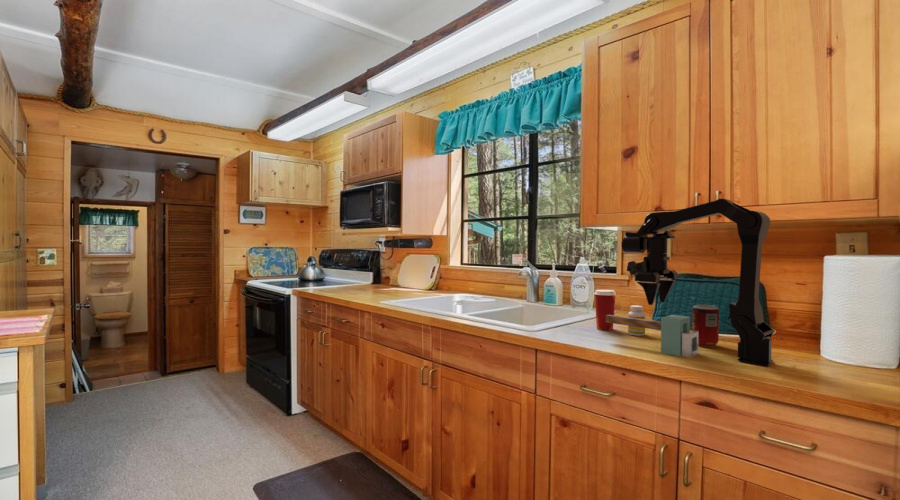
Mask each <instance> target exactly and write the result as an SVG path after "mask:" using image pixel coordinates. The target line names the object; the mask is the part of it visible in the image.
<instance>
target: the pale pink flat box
mask: <svg viewBox="0 0 900 500" xmlns="http://www.w3.org/2000/svg"><path fill="white" fill-rule="evenodd" d="M698 354H699V346H698V331H693V330H692V329H690V330H689V331H686V332H683V333H682V356H681V357H683V358H693V357H695V356H697V355H698Z"/></svg>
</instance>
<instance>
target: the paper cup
mask: <svg viewBox="0 0 900 500" xmlns="http://www.w3.org/2000/svg"><path fill="white" fill-rule="evenodd" d="M593 294H594V301H595V320H596V324H595V325H596V329H597V330H600V331H613V329H614V323H607V322H606V315H615V306H616V296H617V293H616V291H615V290H613V289H612V290H610V289H595V291H594V292H593Z"/></svg>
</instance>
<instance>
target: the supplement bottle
mask: <svg viewBox="0 0 900 500" xmlns="http://www.w3.org/2000/svg"><path fill="white" fill-rule="evenodd" d="M629 308H630V311H629V312H628V313H627V317H631V318H638V319H646V313H644V312H643V311H644V306H642V305H637V304H635V305H634V304H633V305H630V307H629ZM627 334H629V335H631V336H639V337H641V336H642V337H643V336H645V335H646V328H642V327H635V326H628V325H627Z"/></svg>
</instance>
